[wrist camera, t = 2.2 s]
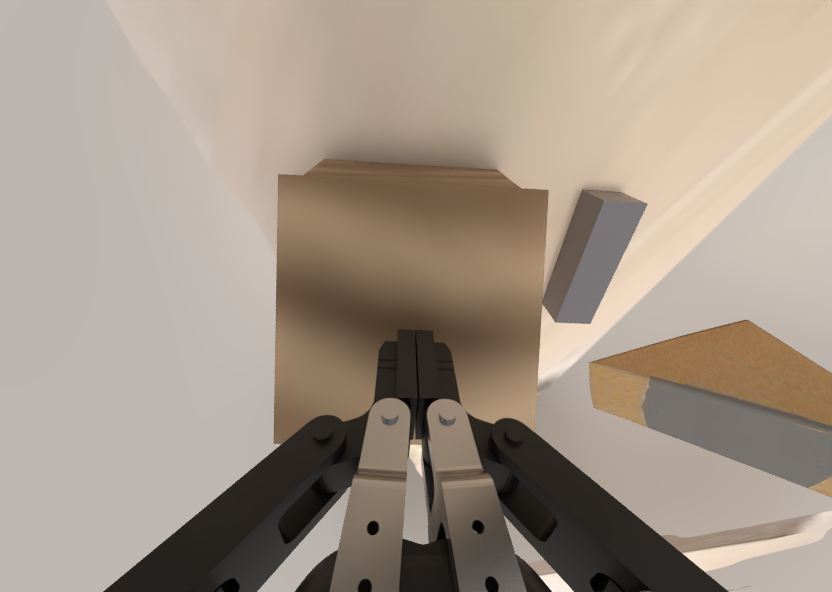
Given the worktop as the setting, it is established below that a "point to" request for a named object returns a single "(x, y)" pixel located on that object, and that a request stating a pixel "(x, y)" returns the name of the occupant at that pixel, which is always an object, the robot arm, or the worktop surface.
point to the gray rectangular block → (591, 254)
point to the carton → (410, 173)
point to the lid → (405, 291)
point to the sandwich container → (728, 399)
